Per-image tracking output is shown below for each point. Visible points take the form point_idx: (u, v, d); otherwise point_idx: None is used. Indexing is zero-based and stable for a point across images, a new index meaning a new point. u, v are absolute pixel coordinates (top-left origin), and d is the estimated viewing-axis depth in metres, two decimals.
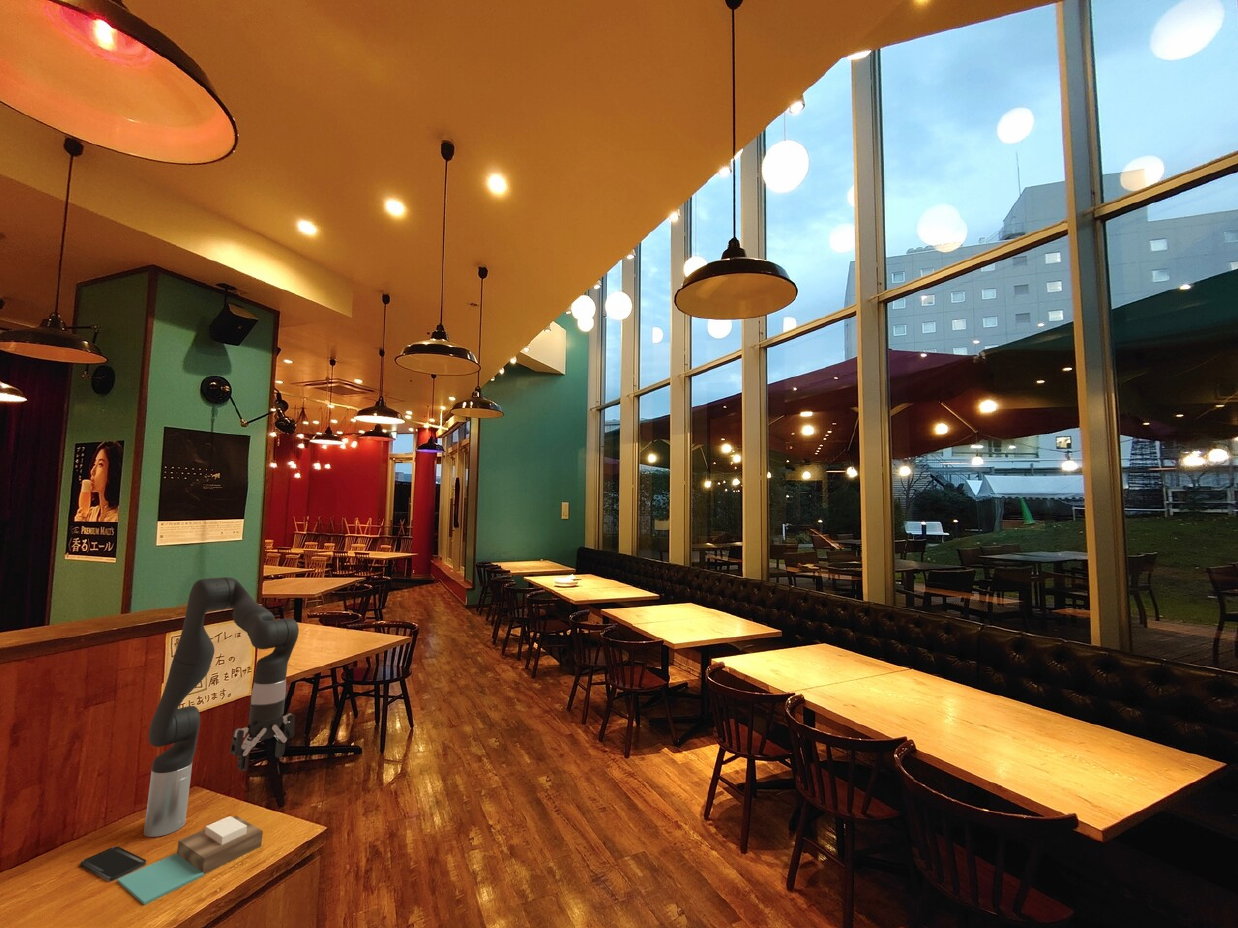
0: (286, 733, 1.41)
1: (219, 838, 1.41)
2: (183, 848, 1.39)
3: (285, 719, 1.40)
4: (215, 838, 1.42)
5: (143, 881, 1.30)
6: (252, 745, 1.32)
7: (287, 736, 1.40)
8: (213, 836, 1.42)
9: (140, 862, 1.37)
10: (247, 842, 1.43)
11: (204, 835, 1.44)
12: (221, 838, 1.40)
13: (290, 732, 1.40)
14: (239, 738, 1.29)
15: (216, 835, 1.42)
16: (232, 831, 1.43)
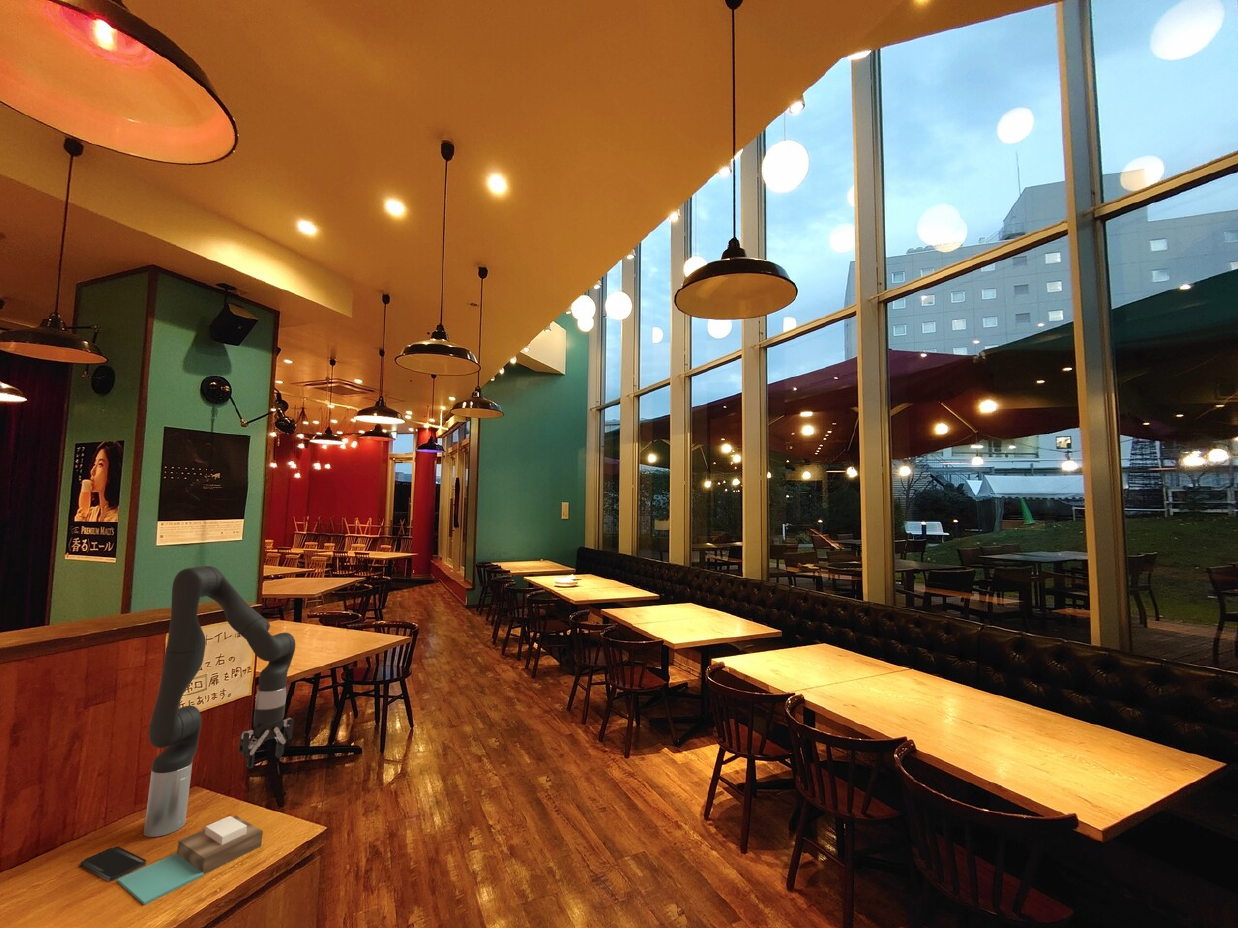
0: (285, 735, 1.59)
1: (219, 838, 1.41)
2: (183, 848, 1.39)
3: (285, 722, 1.59)
4: (215, 838, 1.42)
5: (143, 881, 1.30)
6: (257, 745, 1.51)
7: (286, 738, 1.59)
8: (213, 836, 1.42)
9: (140, 862, 1.37)
10: (247, 842, 1.43)
11: (204, 835, 1.44)
12: (221, 838, 1.40)
13: (289, 734, 1.59)
14: (245, 740, 1.48)
15: (216, 835, 1.42)
16: (232, 831, 1.43)
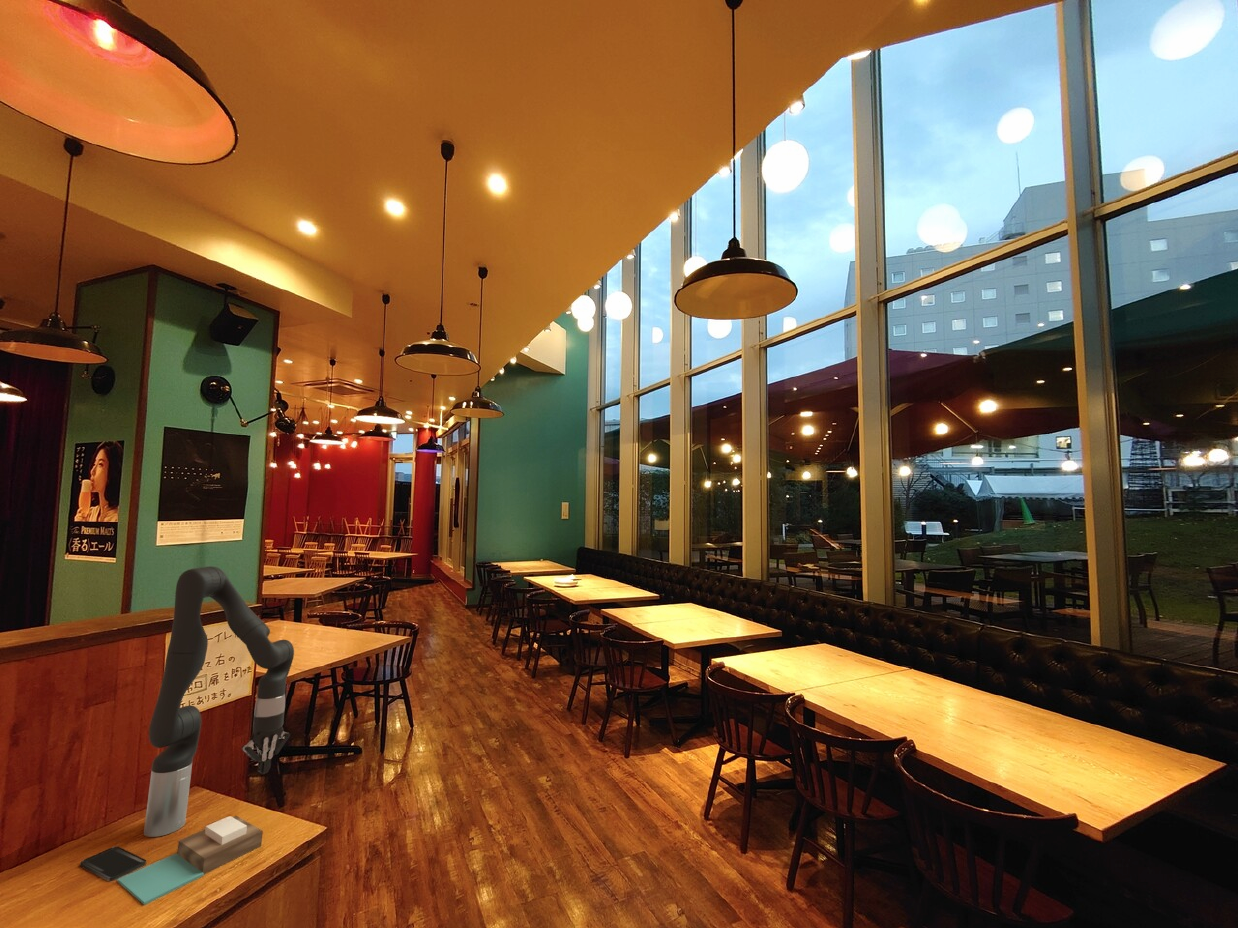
0: None
1: (219, 838, 1.41)
2: (183, 848, 1.39)
3: (282, 734, 1.58)
4: (215, 838, 1.42)
5: (143, 881, 1.30)
6: (265, 752, 1.53)
7: (273, 753, 1.55)
8: (213, 836, 1.42)
9: (140, 862, 1.37)
10: (247, 842, 1.43)
11: (204, 835, 1.44)
12: (221, 838, 1.40)
13: (278, 748, 1.56)
14: (250, 752, 1.49)
15: (216, 835, 1.42)
16: (232, 831, 1.43)
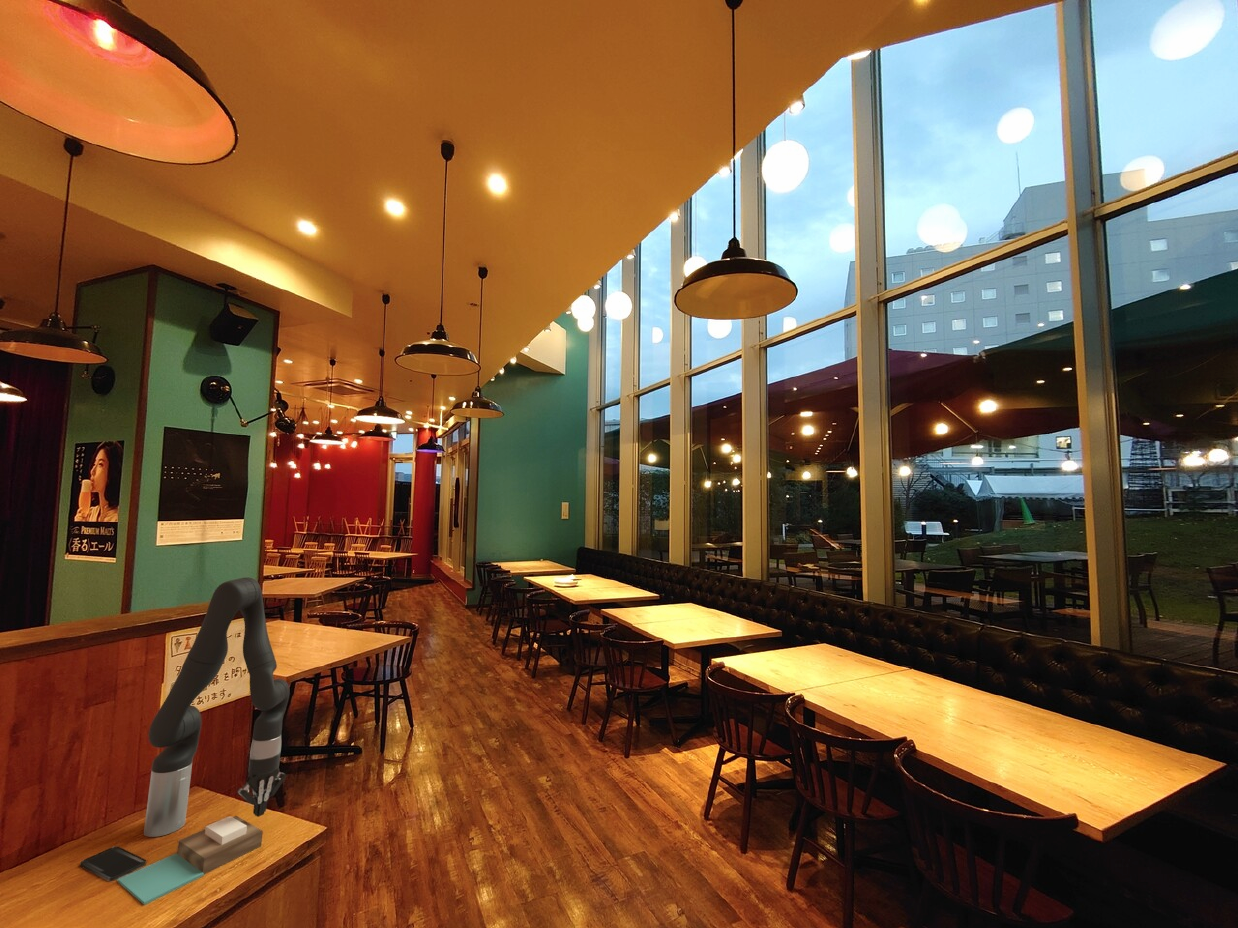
0: None
1: (219, 838, 1.41)
2: (183, 848, 1.39)
3: (278, 774, 1.57)
4: (215, 838, 1.42)
5: (143, 881, 1.30)
6: (261, 794, 1.51)
7: (268, 795, 1.54)
8: (213, 836, 1.42)
9: (140, 862, 1.37)
10: (247, 842, 1.43)
11: (204, 835, 1.44)
12: (221, 838, 1.40)
13: (273, 790, 1.55)
14: (245, 795, 1.48)
15: (216, 835, 1.42)
16: (232, 831, 1.43)
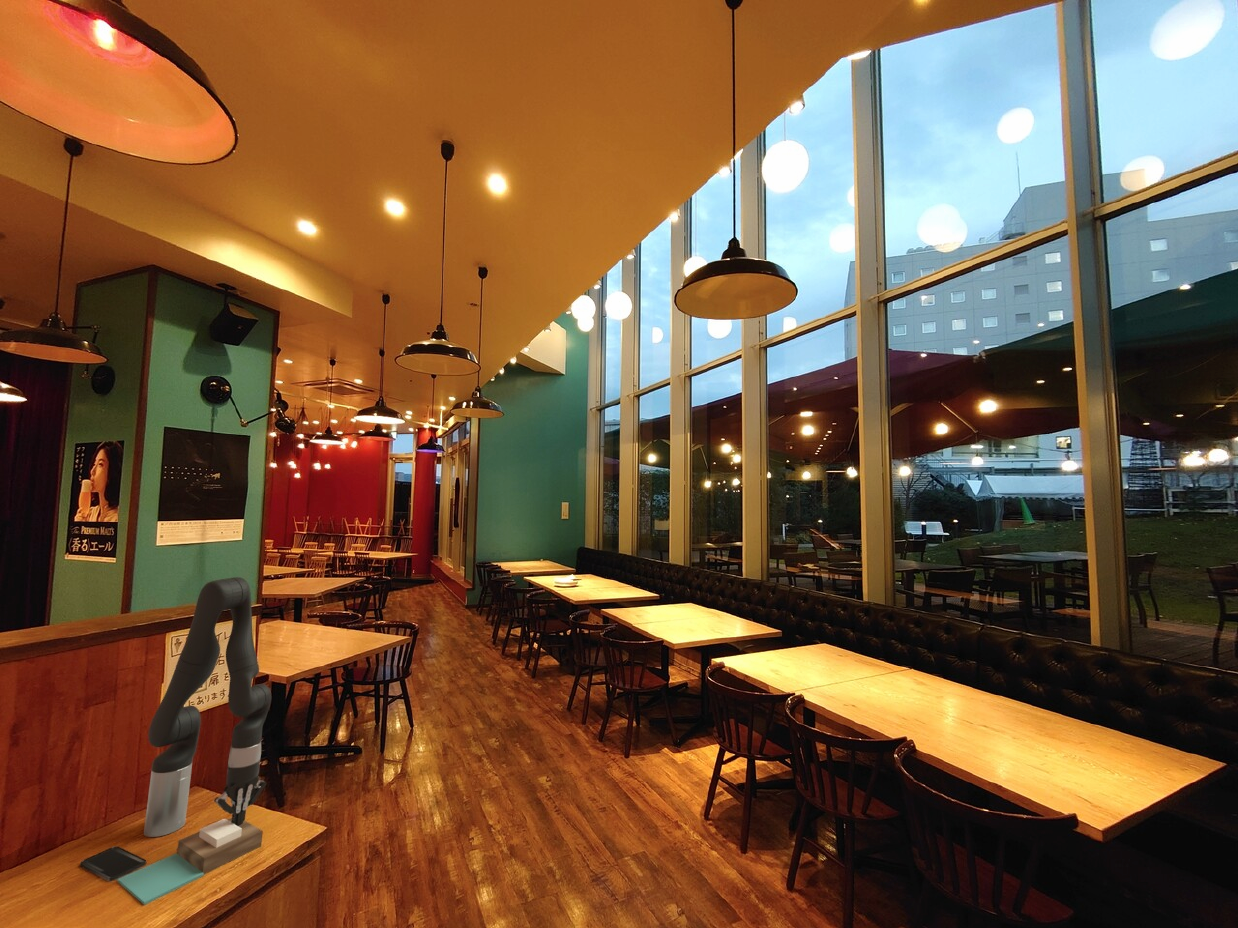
0: None
1: (213, 841, 1.40)
2: (183, 848, 1.39)
3: (258, 783, 1.52)
4: (209, 841, 1.40)
5: (143, 881, 1.30)
6: (239, 803, 1.47)
7: (247, 804, 1.49)
8: (207, 838, 1.41)
9: (140, 862, 1.37)
10: (247, 842, 1.43)
11: None
12: (215, 841, 1.39)
13: (253, 798, 1.50)
14: (223, 805, 1.43)
15: (210, 838, 1.40)
16: (227, 834, 1.41)
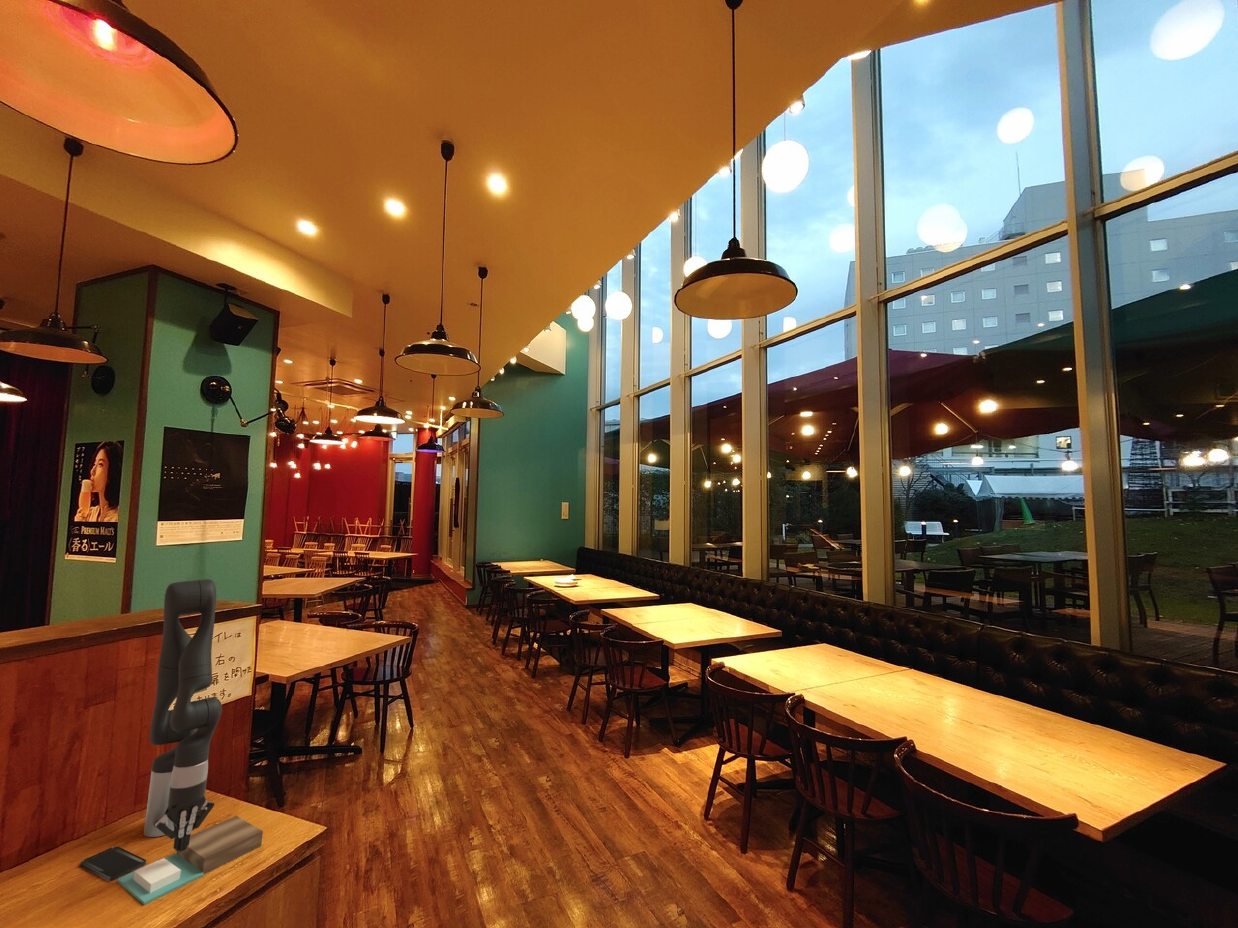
0: None
1: None
2: None
3: (205, 804, 1.40)
4: None
5: None
6: (182, 827, 1.35)
7: (192, 827, 1.37)
8: None
9: (140, 862, 1.37)
10: (247, 842, 1.43)
11: (204, 835, 1.44)
12: None
13: (198, 821, 1.38)
14: (163, 829, 1.32)
15: None
16: None
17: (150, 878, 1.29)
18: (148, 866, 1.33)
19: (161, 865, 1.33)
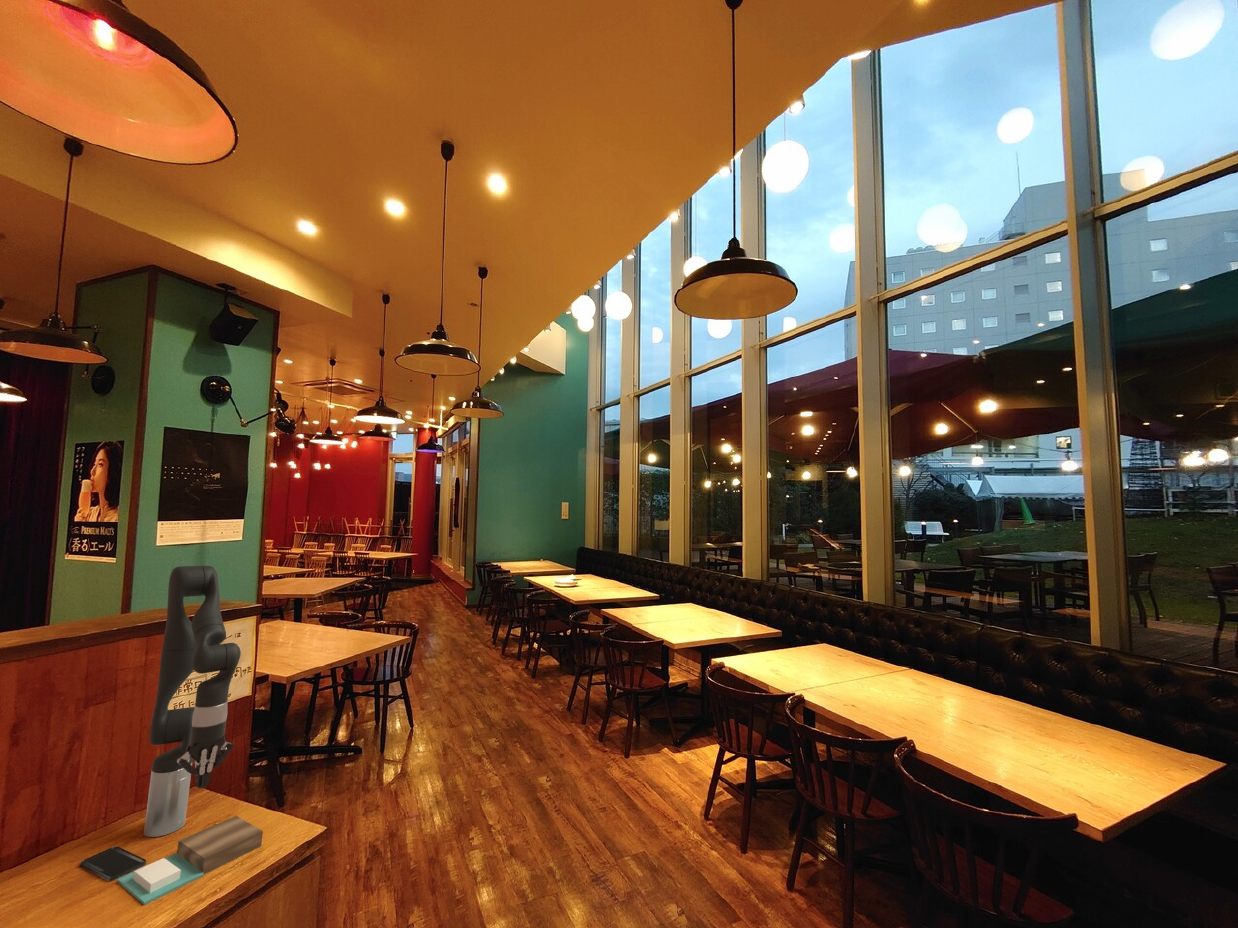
0: None
1: None
2: (183, 848, 1.39)
3: (224, 744, 1.45)
4: None
5: None
6: (203, 765, 1.40)
7: (213, 766, 1.42)
8: None
9: (140, 862, 1.37)
10: (247, 842, 1.43)
11: (204, 835, 1.44)
12: None
13: (218, 760, 1.43)
14: (185, 765, 1.36)
15: None
16: None
17: (150, 878, 1.29)
18: (148, 866, 1.33)
19: (161, 865, 1.33)
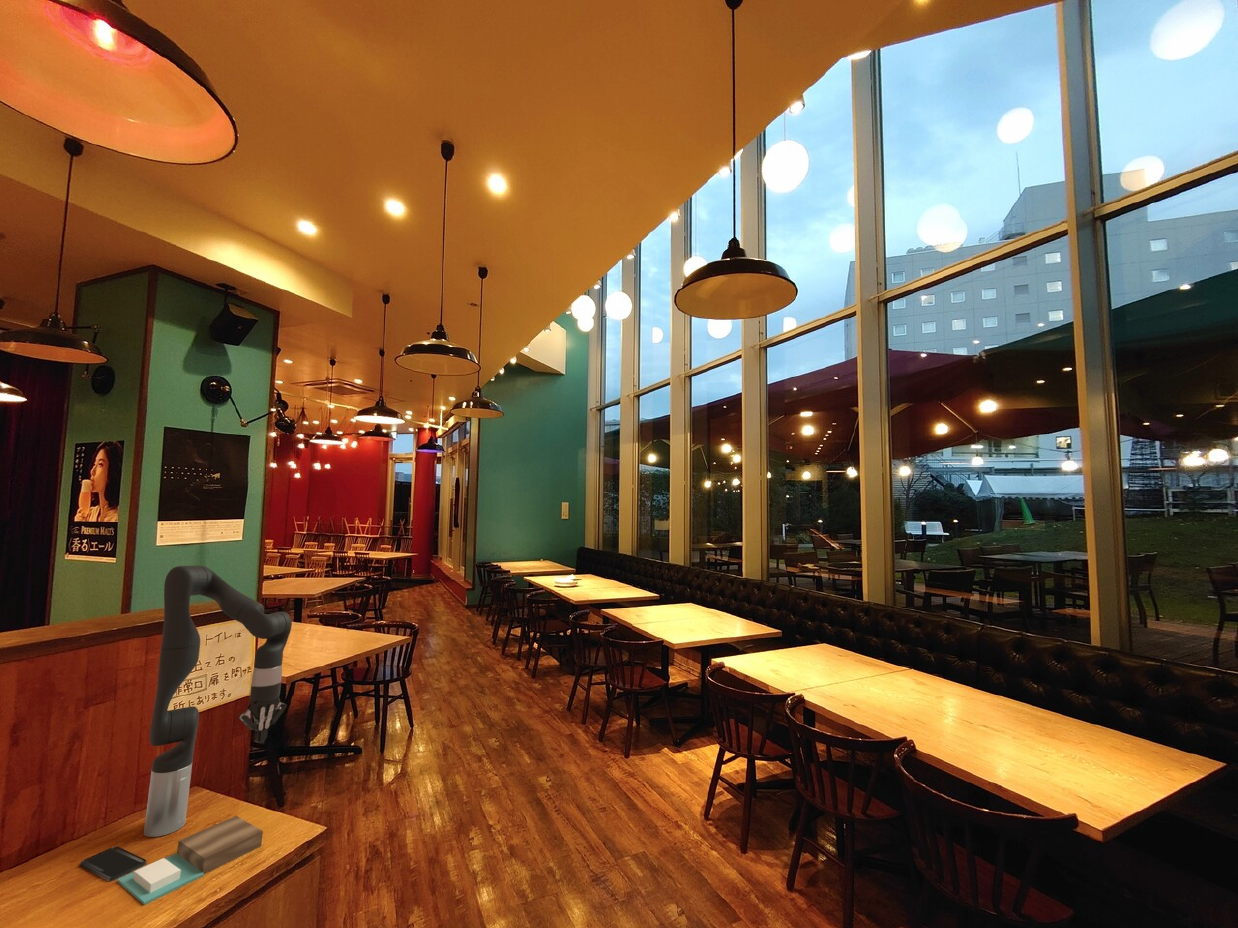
0: None
1: None
2: (183, 848, 1.39)
3: (279, 704, 1.60)
4: None
5: None
6: (262, 721, 1.54)
7: (269, 723, 1.57)
8: None
9: (140, 862, 1.37)
10: (247, 842, 1.43)
11: (204, 835, 1.44)
12: None
13: (274, 718, 1.58)
14: (247, 721, 1.51)
15: None
16: None
17: (150, 878, 1.29)
18: (148, 866, 1.33)
19: (161, 865, 1.33)
